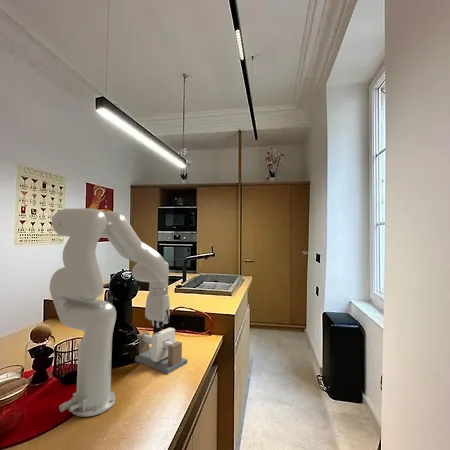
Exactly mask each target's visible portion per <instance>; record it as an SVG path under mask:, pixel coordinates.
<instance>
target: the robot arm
mask: <svg viewBox="0 0 450 450" xmlns="http://www.w3.org/2000/svg"><path fill="white" fill-rule="evenodd" d="M51 227H52V229H53V231H54V232H55V233H56V234H58V235H59V236H61V237H68V239H67V241H66V242H65V245H64V247H63V249H62V250H63V251H62V262H63V266H64V267H61V268H59V269H57V270H56V271H55V272H54V273H53V275H52V276H51V278H50V280H49V281H50V282H49V294H50V296H51V299H52V302H53V305H54V308H55V310H56V314H57V316H58V319H59V321H60V322H61V324H62V325H63V326H65V327H67V328H70V329H74V330H79V331H82V332H83V336H82V337H81V339H80V341H79V344H78V346H77V347H78V348H77V368H76V369H77V373H76V375H77V376H76V391H75V392H74V393H72V398H70V399H69V400H67V401H65V402H63V403H62V404H59V407H58V409H59V412H60V413H63V412H64V411H66V410H68V412H70V413H72V414H73V415H75V416H77V417H82V418H83V417H84V418H86V417H88V418H89V417H94V416H97V415H100V414H103V413H105V412H106V411H108V410H110V409H111V408H112V407H113V406H114V405H115V403H116V398H117V397H116V394H115V393H114V391H111V388H112V387H111V386H112V357H113V355H112V352H113V334H114V328H115V326H116V325H115V323H116V322H117V321H116V320H117V310H116V309H117V308H116V307H115V306H114V305H113V304H112V303H111V302H109V301H106V300H103V299H100V297H101V296H102V295H103V292H104V281H103V278H102V274H101V271H100V267H99V264H98V259H97V256H96V255H97V254H96V248H97V246H98V243H99V241H100V239H101V238H102V237H103V238H106V239H107V240H108V241H109V243H111V245H112V246H113V248H114V249H115V250H116V252H117V253H118V254H119V255H120V256H121V257H122V258H124V259H127V260H129V261H131V262H134V263H135V264H134V265H133V267H132V268H131V276H132V278H133V279H134V280H135V281H138V282H144V283H149V285H148V286H149V287H148V290H149V291H148V294H147V296H146V301H145V308H144V309H145V310H144V316H145V318H146V319H148V320H149V321H150V323H151V326H152V328H153V329H152V334H154V333H157V332H160V331H162V330H163V329H162V327H163V326H164V325H167V324H169V319H170V314H171V307H170V296H169V276H170V275H169V274H170V267H169V263H168V261H165V259H164V257H163V256H162V255H161V254H160V253H159V252H158V251H157V250H156V249H154V248H152V247H151V246H149V245H148V244H146V243H144V242H143V241H142V240H141V239H140V238H139V236H138V234H137V233H136V232H135V231H134V228H133V227H132V226H131V224H130V222H129V221H128V220H127V218H126V217H125V215H124V214H123V213H121V212H118V211H102V210H100V209H98V208H90V207H89V208H85V207H82V208H81V207H80V208H62V209H59V210H58V211H57V212H55V214H53V216H52V218H51Z"/></svg>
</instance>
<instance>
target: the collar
mask: <svg viewBox="0 0 450 450" xmlns="http://www.w3.org/2000/svg"><path fill="white" fill-rule="evenodd" d="M151 336H152V344H151V347H152V350H151V360H152V361H155V362H158V361H160V360H162V359H164V358H166V357H168V350H167V349H164V348H163V341H169V342H172V343H175V342H176V329H175V328H174V327H167V328H165V329H162V331H160V332H157V333H154V334H153V333H152V334H151Z"/></svg>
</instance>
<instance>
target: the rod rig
mask: <svg viewBox="0 0 450 450" xmlns="http://www.w3.org/2000/svg"><path fill="white" fill-rule="evenodd" d="M136 335H137V338H138V340H139V355H138V356H136V357H135V361H134V362H137V363H138V364H142V365H144V366H147V367H149V368H152V369H153V370H157V371H159V372H162V373H165V374H167V375H169V374H170V373H172V372H174V371H177V369H179V368H181V367H183V366H184V365H186V364H188V359H187V358H186V357H185V358H184V357H183V356H182V355H183V354H182V353H183V343H182V342H180V341H179V340H178V341H175V343H172V342H169V341H163V348H164V349H167V350H168V357H166V358H164V359H162V360H160V361H158V362H155V361H152V360H151V350H152V346H150V345H152V335H150V332H147V331H143V332H141V333H140V332H139V334H136Z"/></svg>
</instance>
